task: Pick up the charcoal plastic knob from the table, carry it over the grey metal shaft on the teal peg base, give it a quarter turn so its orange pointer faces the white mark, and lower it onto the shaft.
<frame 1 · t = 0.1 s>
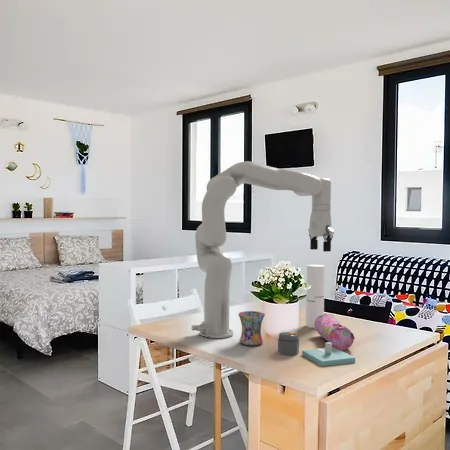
hand: (320, 250, 197), 31 cm above the table, tool pointing down, fingers open, 9 cm apart
pencil case: (333, 343, 172), on the table
knob: (288, 352, 160), on the table
teal peg base: (328, 358, 154), on the table
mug: (250, 343, 171), on the table
cylindrical container: (314, 326, 197), on the table
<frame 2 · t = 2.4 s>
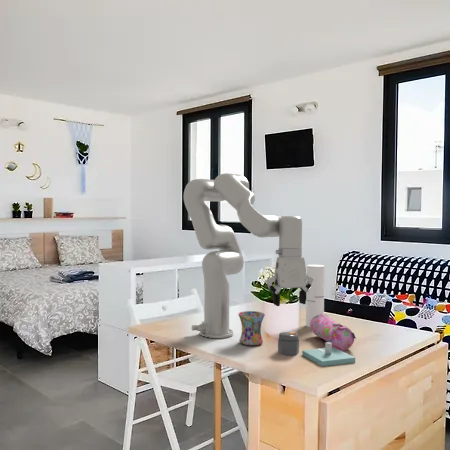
hand: (289, 304, 159), 16 cm above the table, tool pointing down, fingers open, 9 cm apart
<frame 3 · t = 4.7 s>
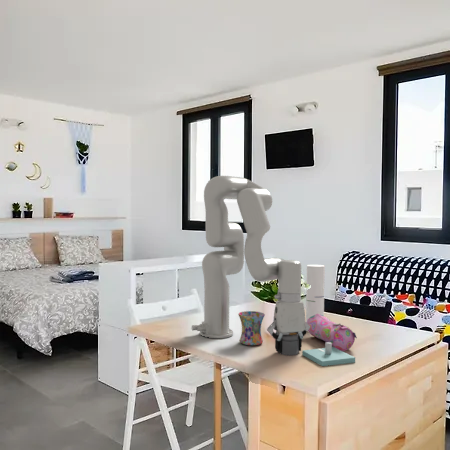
hand: (288, 350, 160), 1 cm above the table, tool pointing down, fingers closed on knob, 6 cm apart
knob: (288, 352, 160), on the table, touching gripper
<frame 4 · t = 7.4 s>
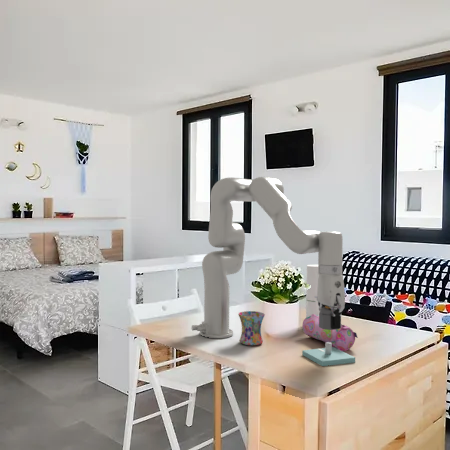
hand: (329, 325, 153), 11 cm above the table, tool pointing down, fingers closed on knob, 6 cm apart
knob: (329, 327, 153), point 10 cm above the table, touching gripper
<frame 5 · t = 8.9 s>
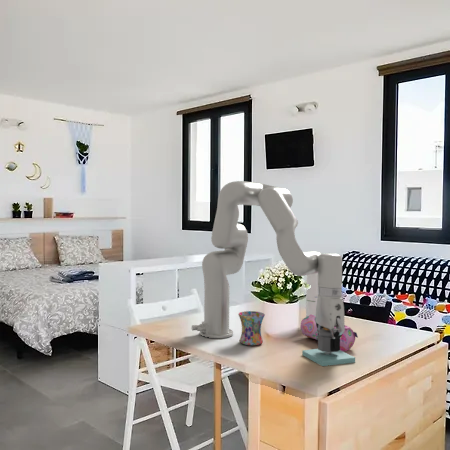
hand: (328, 347, 154), 4 cm above the table, tool pointing down, fingers closed on knob, 6 cm apart
knob: (328, 349, 154), point 3 cm above the table, touching gripper
when the fingers open (3 cm above the table, at t = 10.1 s): knob stays where it is, resting on teal peg base.
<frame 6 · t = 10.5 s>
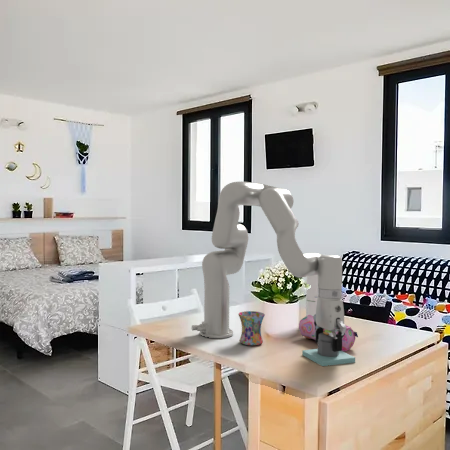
hand: (328, 346, 154), 4 cm above the table, tool pointing down, fingers open, 9 cm apart
knob: (328, 353, 154), point 2 cm above the table, touching teal peg base
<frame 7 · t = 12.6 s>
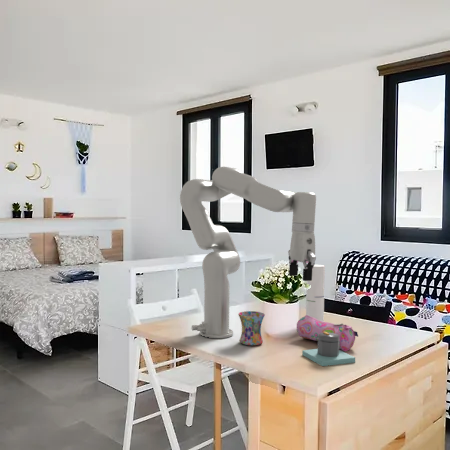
hand: (299, 278, 164), 24 cm above the table, tool pointing down, fingers open, 9 cm apart
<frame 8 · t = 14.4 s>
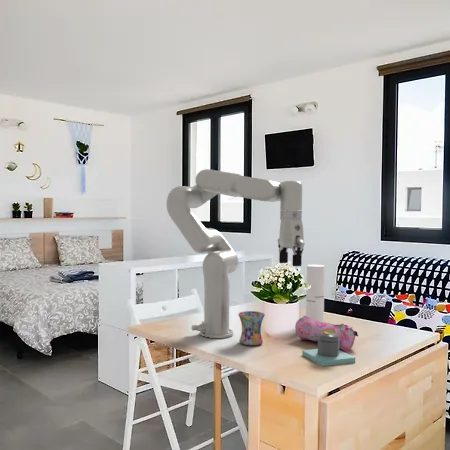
hand: (290, 264, 169), 28 cm above the table, tool pointing down, fingers open, 9 cm apart
at the end: knob 0.1 cm off-centre on the teal peg base, point 1.6 cm above the teal peg base's base; knob tilted 1°; the gripper is holding nothing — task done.
